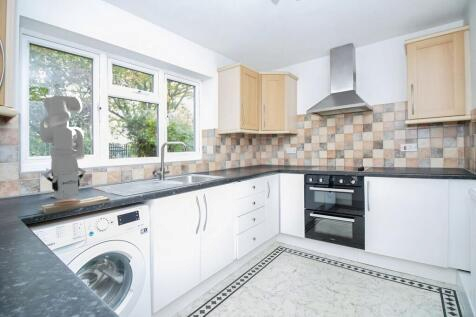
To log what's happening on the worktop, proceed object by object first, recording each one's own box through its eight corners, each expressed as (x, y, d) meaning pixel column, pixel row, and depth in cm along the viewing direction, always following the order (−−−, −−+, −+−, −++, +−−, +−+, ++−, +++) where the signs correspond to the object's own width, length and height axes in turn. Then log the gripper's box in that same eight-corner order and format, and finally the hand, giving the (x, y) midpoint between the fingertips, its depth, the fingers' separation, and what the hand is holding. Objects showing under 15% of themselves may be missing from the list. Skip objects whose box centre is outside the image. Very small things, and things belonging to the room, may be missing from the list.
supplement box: (61, 199, 107) (59, 172, 106) (54, 198, 111) (52, 172, 110) (79, 196, 113) (77, 170, 113) (72, 195, 117) (70, 170, 117)
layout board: (41, 209, 109) (40, 203, 109) (101, 199, 129) (101, 194, 128) (46, 213, 102) (46, 206, 102) (109, 202, 121) (109, 196, 121)
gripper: (82, 152, 120) (84, 186, 121) (39, 153, 107) (41, 191, 108) (87, 152, 115) (89, 187, 116) (42, 153, 102) (45, 193, 103)
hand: (66, 189), depth 112 cm, fingers closed on supplement box, 8 cm apart
